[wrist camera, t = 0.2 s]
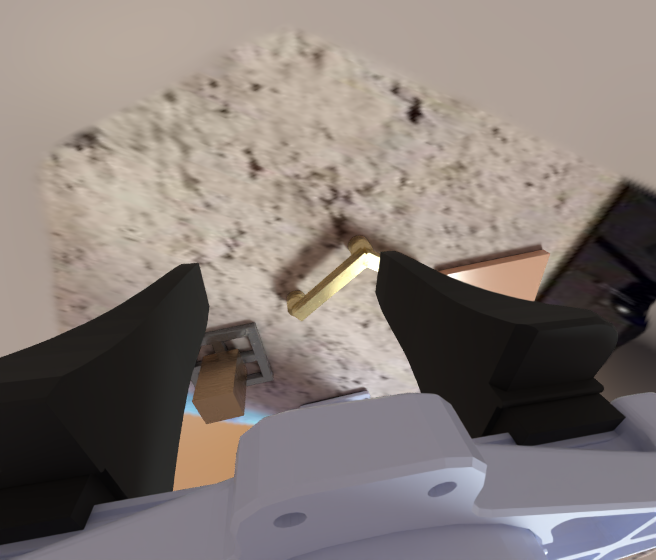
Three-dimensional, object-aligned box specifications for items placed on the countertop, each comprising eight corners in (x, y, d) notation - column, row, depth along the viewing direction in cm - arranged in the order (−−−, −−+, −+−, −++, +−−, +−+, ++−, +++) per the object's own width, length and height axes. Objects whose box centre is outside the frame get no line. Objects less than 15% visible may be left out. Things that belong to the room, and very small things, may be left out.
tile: (517, 330, 32) (522, 335, 31) (430, 350, 31) (433, 355, 30) (543, 249, 26) (550, 253, 26) (438, 270, 25) (442, 275, 25)
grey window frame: (273, 375, 29) (274, 423, 25) (202, 391, 28) (190, 443, 24) (255, 322, 25) (252, 368, 21) (172, 339, 24) (152, 390, 20)
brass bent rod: (422, 280, 26) (435, 295, 24) (288, 308, 25) (290, 326, 23) (426, 222, 23) (441, 234, 21) (274, 251, 22) (275, 266, 20)
